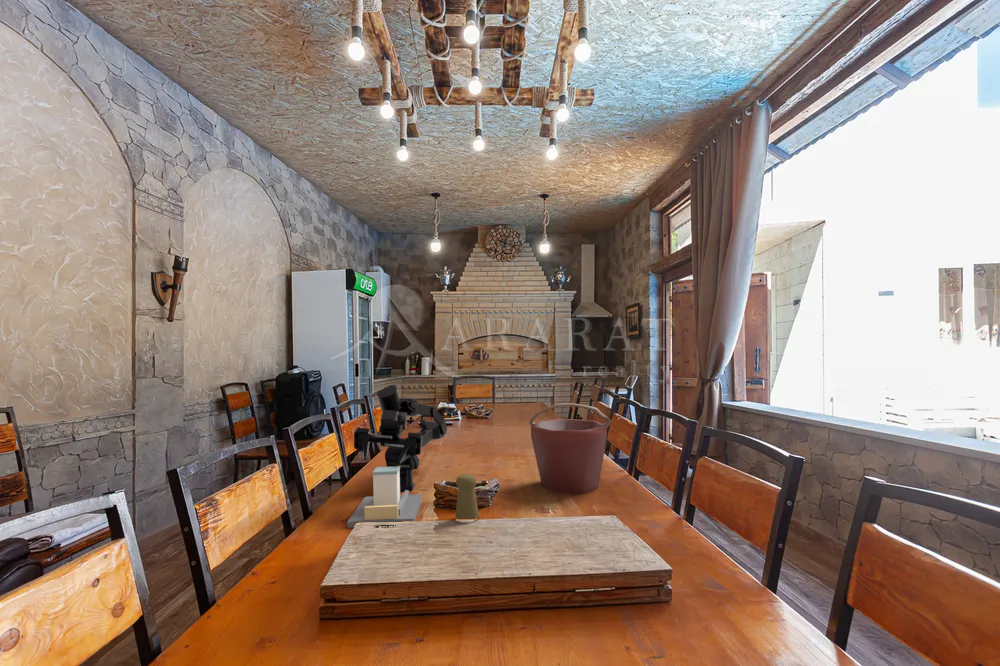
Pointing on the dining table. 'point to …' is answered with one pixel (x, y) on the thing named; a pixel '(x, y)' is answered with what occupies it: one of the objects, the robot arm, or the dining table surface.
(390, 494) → the white teal-topped box
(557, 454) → the bucket
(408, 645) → the dining table surface
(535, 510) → the dining table surface
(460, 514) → the olive green pawn
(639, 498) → the dining table surface
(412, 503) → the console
